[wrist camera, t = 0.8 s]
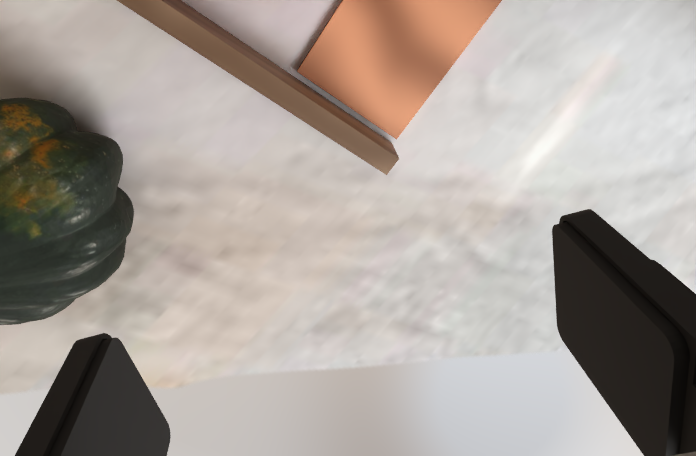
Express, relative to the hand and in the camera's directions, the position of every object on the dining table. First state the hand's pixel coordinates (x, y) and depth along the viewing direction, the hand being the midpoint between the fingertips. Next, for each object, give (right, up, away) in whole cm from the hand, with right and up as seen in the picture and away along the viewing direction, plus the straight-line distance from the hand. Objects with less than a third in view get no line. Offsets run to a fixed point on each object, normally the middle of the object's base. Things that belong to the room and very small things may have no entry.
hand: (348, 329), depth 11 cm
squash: (-23, +6, +30) cm, 38 cm away
